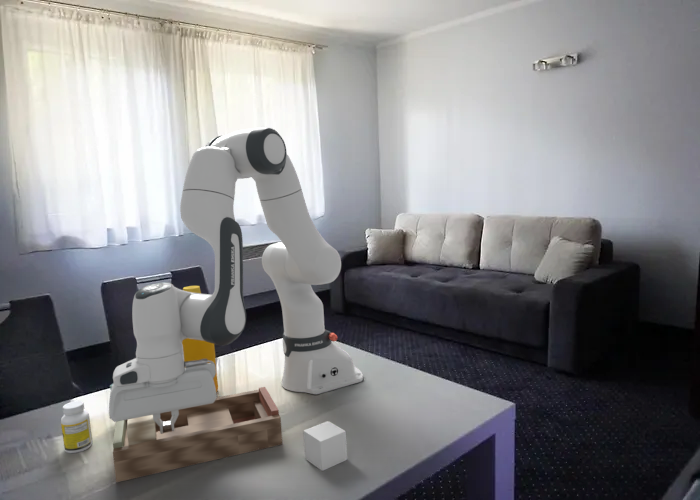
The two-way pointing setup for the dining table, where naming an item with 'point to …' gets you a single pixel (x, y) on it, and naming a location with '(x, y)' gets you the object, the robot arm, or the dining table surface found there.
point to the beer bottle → (198, 344)
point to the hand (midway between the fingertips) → (167, 431)
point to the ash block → (141, 430)
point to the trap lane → (201, 435)
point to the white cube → (325, 445)
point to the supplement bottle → (76, 427)
